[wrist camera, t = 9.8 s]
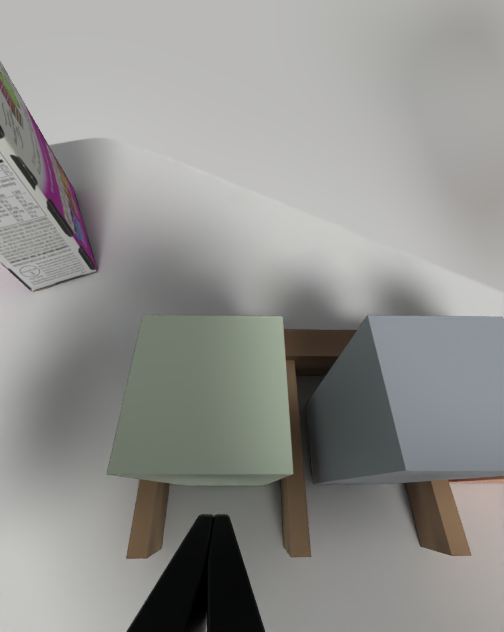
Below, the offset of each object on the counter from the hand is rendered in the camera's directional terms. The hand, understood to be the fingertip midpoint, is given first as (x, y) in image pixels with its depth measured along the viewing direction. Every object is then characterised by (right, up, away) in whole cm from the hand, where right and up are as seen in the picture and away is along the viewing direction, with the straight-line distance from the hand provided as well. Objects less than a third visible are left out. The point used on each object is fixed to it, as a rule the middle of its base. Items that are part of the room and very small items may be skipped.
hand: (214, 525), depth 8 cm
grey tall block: (+6, -1, +8) cm, 10 cm away
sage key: (0, -1, +8) cm, 8 cm away
